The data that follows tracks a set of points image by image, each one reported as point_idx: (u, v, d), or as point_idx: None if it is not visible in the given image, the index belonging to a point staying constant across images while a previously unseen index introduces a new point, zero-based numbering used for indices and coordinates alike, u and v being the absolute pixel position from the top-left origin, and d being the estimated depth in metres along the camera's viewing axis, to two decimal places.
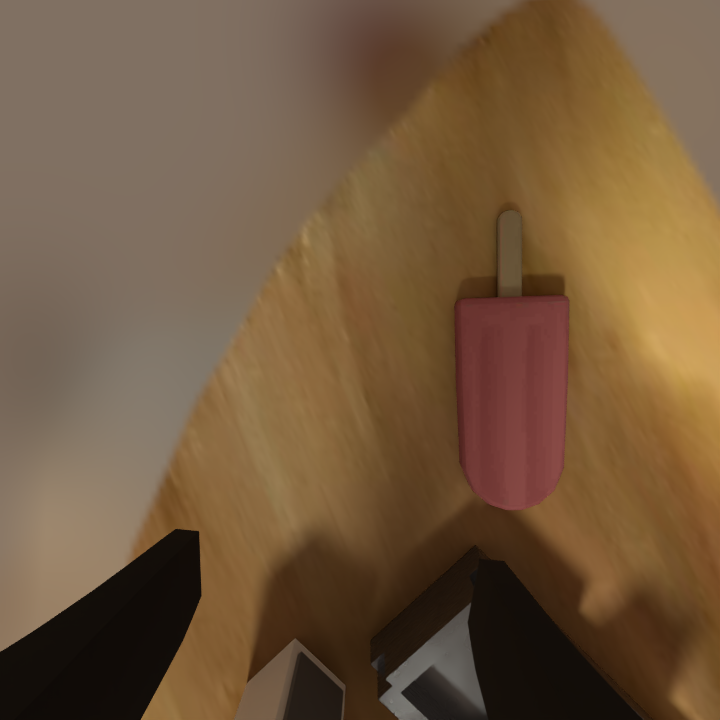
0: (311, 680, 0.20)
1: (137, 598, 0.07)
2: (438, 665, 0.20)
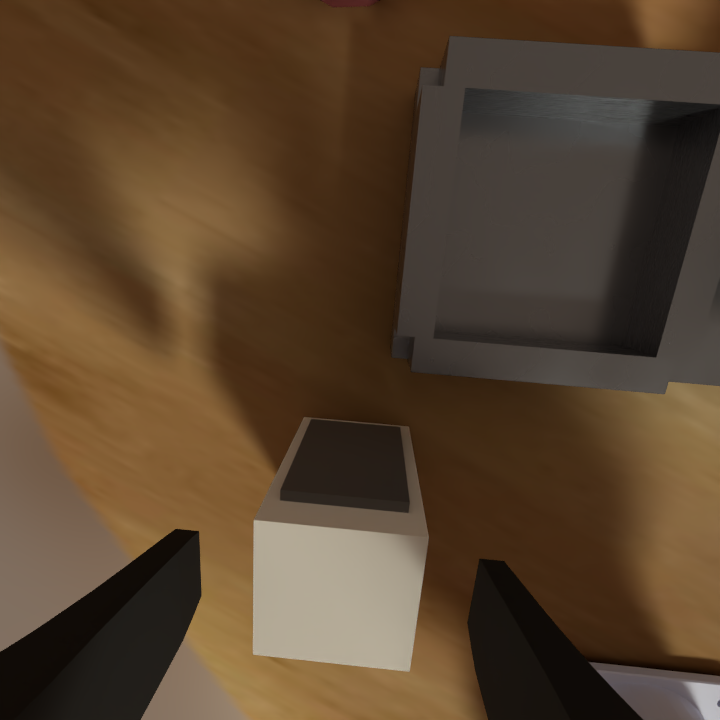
0: (335, 433, 0.13)
1: (137, 598, 0.07)
2: (481, 285, 0.11)
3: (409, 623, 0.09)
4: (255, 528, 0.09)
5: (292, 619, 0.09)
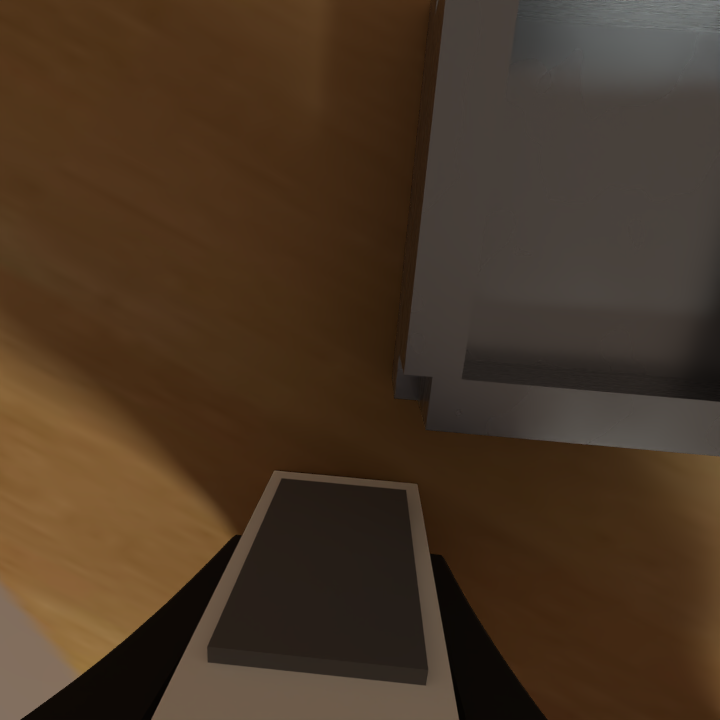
0: (313, 506, 0.09)
1: None
2: (530, 293, 0.08)
3: None
4: None
5: None
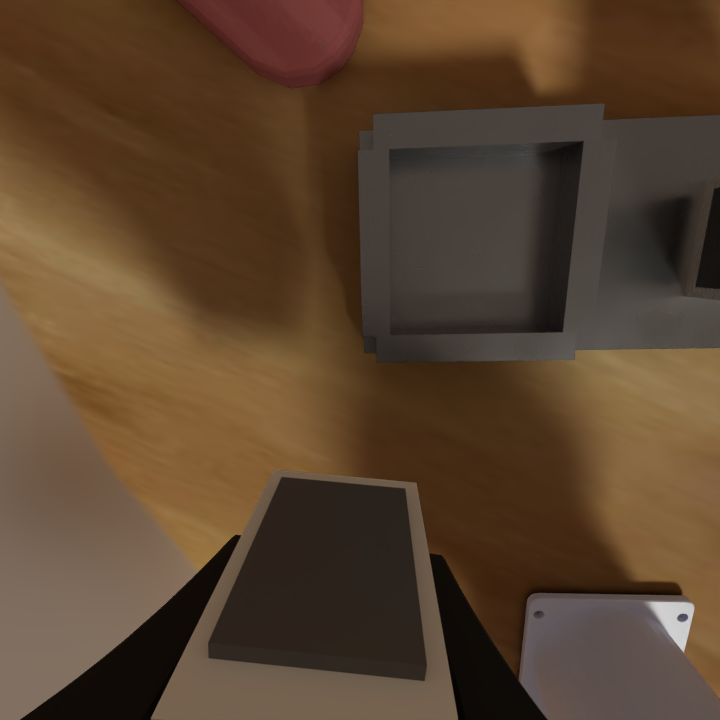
0: (313, 504, 0.09)
1: None
2: (427, 289, 0.15)
3: None
4: None
5: None
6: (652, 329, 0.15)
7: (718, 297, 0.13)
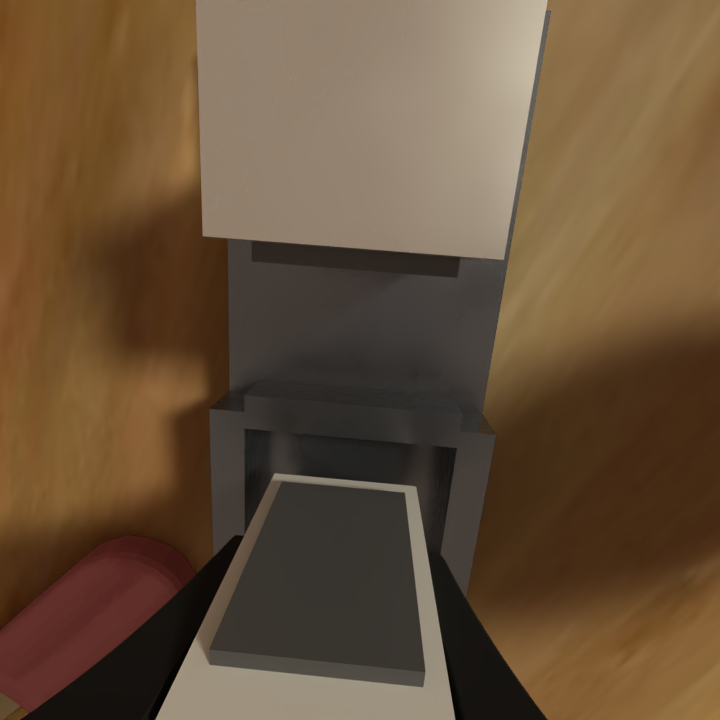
0: (313, 509, 0.09)
1: None
2: None
3: None
4: None
5: None
6: (474, 297, 0.11)
7: None
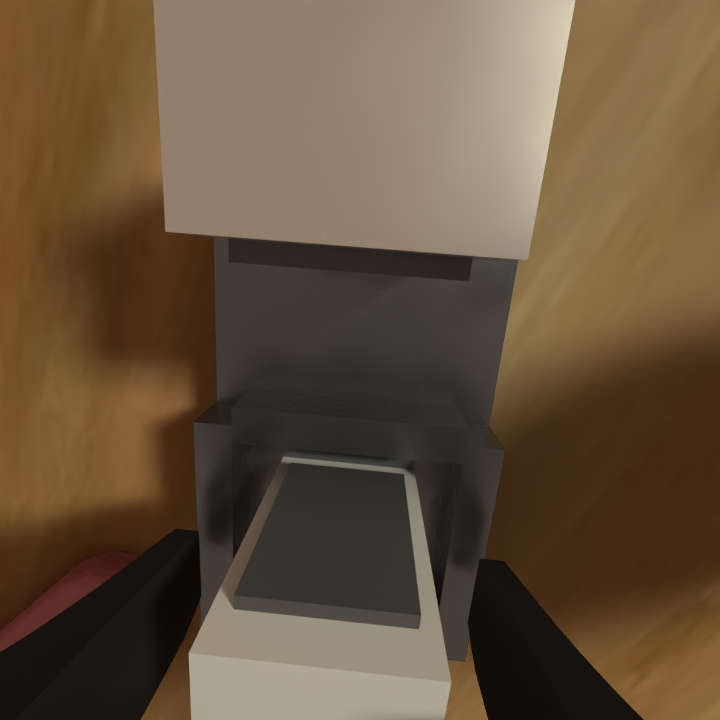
0: (320, 486, 0.10)
1: (137, 598, 0.07)
2: None
3: None
4: (191, 664, 0.06)
5: None
6: (481, 300, 0.10)
7: None
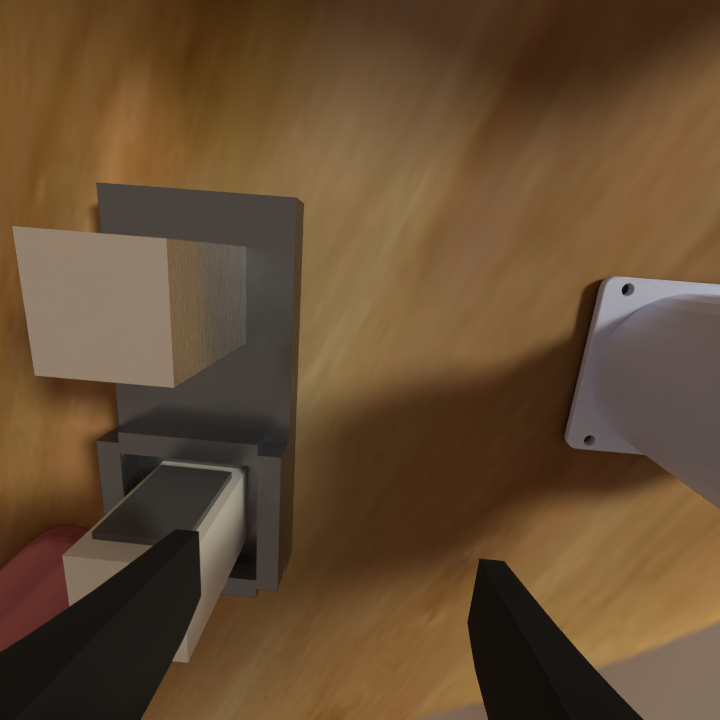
0: (172, 479, 0.16)
1: (137, 598, 0.07)
2: None
3: None
4: (63, 561, 0.12)
5: None
6: (273, 366, 0.17)
7: None
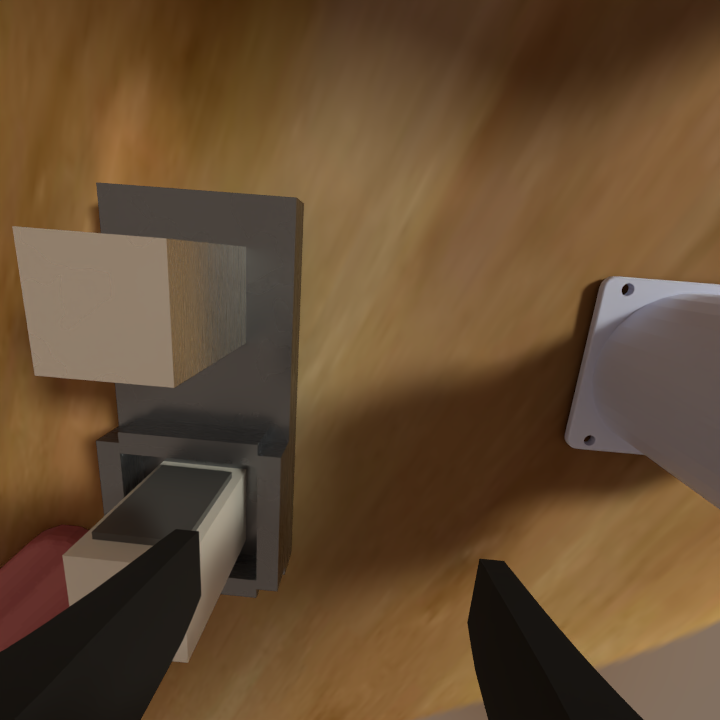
0: (172, 479, 0.16)
1: (137, 598, 0.07)
2: None
3: None
4: (63, 561, 0.12)
5: None
6: (273, 366, 0.17)
7: None
